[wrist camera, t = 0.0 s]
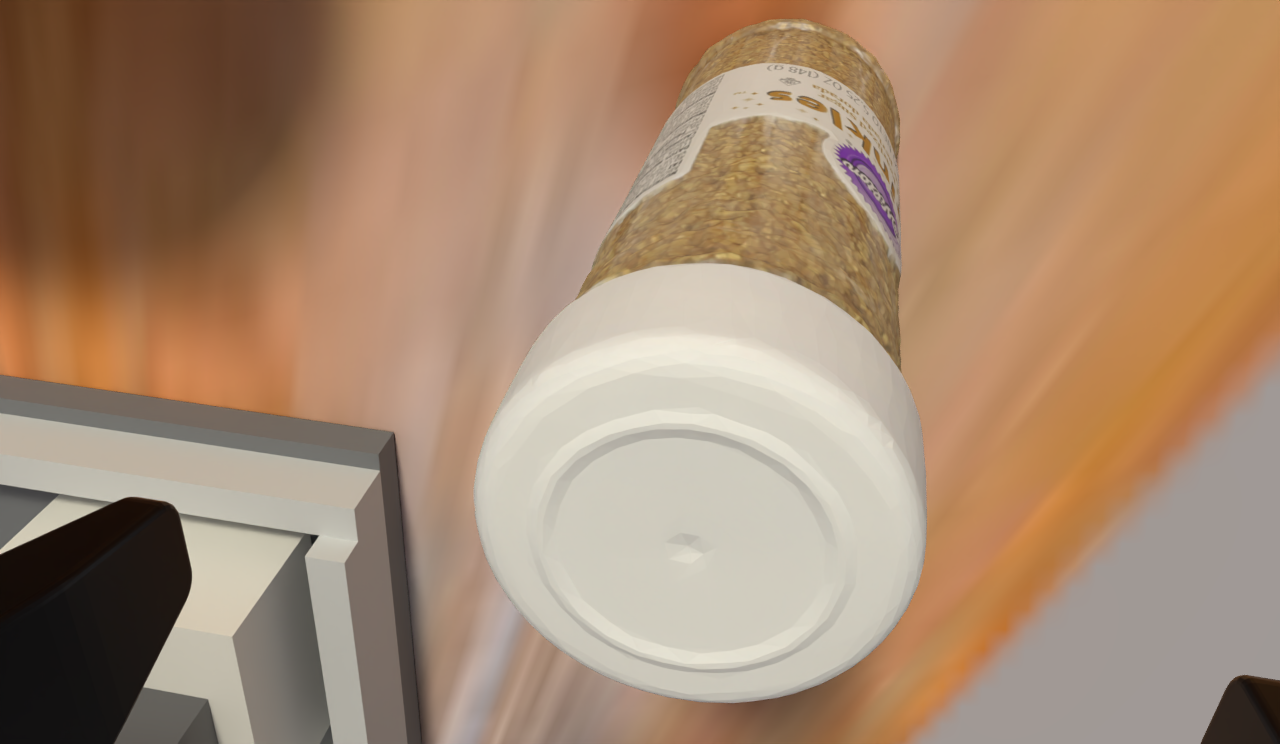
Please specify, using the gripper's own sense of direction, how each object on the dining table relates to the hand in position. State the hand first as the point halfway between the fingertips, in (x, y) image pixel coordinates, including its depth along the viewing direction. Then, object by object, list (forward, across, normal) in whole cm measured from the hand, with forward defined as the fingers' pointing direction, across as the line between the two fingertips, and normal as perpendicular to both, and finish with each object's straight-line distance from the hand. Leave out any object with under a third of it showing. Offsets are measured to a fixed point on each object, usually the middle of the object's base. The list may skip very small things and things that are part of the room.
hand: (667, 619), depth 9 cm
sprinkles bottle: (+15, 0, 0) cm, 15 cm away
